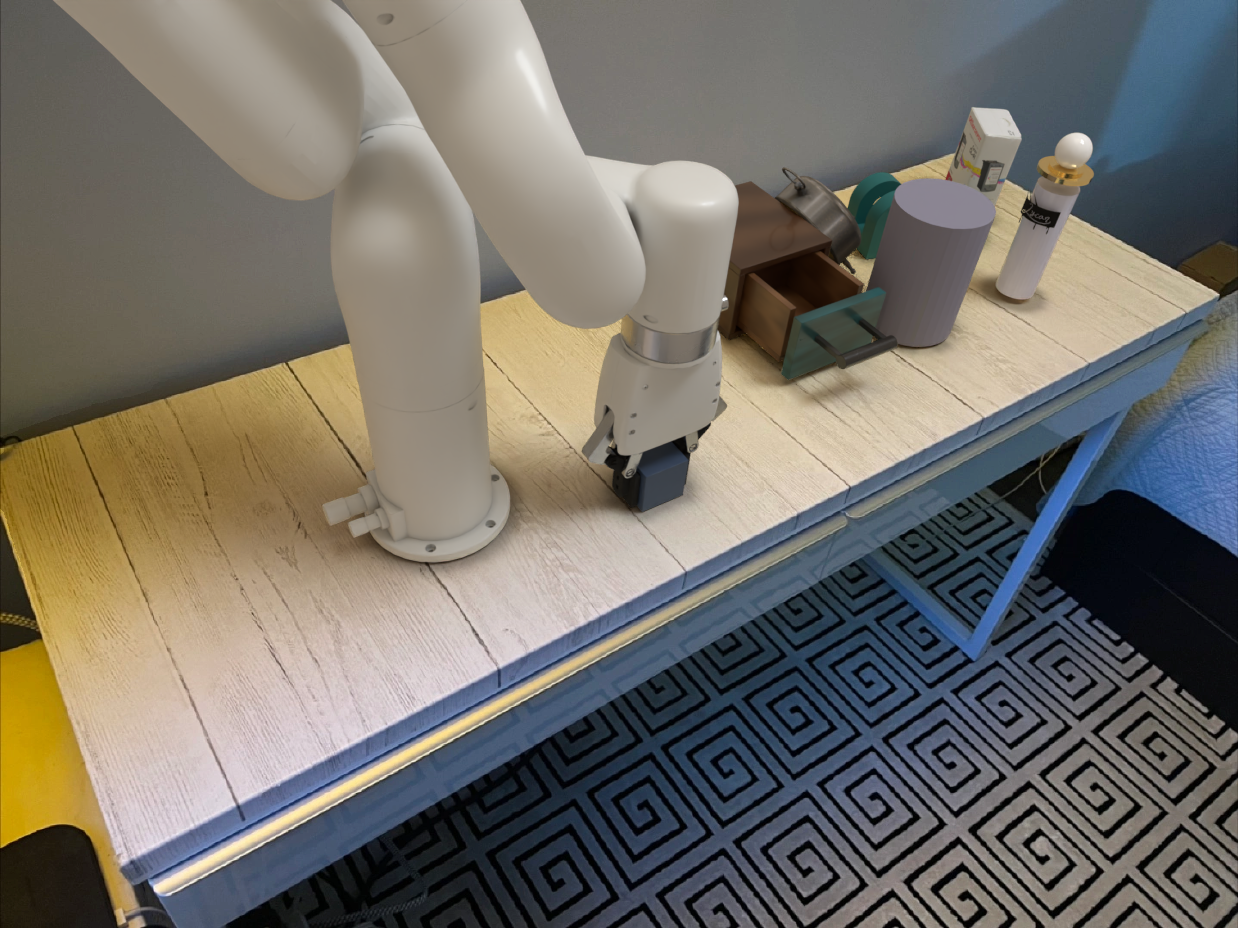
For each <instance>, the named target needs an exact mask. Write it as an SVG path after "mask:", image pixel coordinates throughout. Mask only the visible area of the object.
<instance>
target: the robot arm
mask: <svg viewBox="0 0 1238 928" xmlns="http://www.w3.org/2000/svg"><path fill="white" fill-rule="evenodd" d="M52 1H53V2H54V3H55V4H56V5H57V6H58V7H60V8H61V9H62V10H63V11H64V12H65V13H67V15H69V16H70V17H71V18H72V19H73V20H74V21H75V22H76V23H78V24H79V25H80V26H81V27H82V28H83V29H84V30H85V31H86V32H88V33H89V35H91V36H92V37H93V38H94V39H95V40H96V41H97V42H98V43H99V44H100V45H101V46H103V47H104V48H105V49H106V50H107V51H108V52H109V53H110V54H111V55H112V56H113V57H114V58H115V59H116V60H117V61H118V62H119V63H120V64H121V65H122V66H123V67H124V68H125V69H126V70H127V71H128V72H129V73H130V74H131V75H132V76H133V77H134V78H135V79H136V81H137V80H138V81H139V83H141V84H142V85H143V86H144V87H145V88H146V90H148V91H149V92H150V93H151V94H152V95H153V96H154V97H155V98H156V99H158V101H160V103H162V104H163V105H164V106H165V107H166V108H167V109H168V110H169V111H170V112H171V113H173V114H174V116H176V117H177V118H178V119H179V120H180V121H181V122H182V123H183V124H185V125H186V127H188V129H189V130H191V131H192V132H193V133H194V134H195V135H196V136H197V137H198V138H199V139H201V141H202V142H204V144H206V145H207V146H208V147H209V148H210V150H212V151H213V152H214V153H215V154H216V155H217V156H218V157H219V158H220V159H221V160H222V161H223V162H224V163H225V164H227V165H228V166H229V167H230V168H231V169H232V170H233V171H234V172H236V173H237V174H238V175H239V176H240V177H241V178H243V179H244V180H245V181H246V182H247V183H249V184H250V185H252V186H254V187H255V188H257V189H259V190H261V191H263V192H264V193H266V194H268V195H271V196H274V197H277V198H280V199H284V200H287V201H309V200H314V199H318V198H320V197H322V196H326V195H327V194H329V193H330V192H332V191H333V190H334V194H333V195H334V196H333V199H332V209H331V222H330V223H331V225H330V226H331V227H330V241H329V243H330V244H329V245H330V248H329V249H330V250H329V251H330V267H331V275H332V276H331V277H332V282H333V288H334V291H335V295H336V299H337V302H338V306H339V309H340V312H341V315H342V318H343V319H342V320H343V322H344V325H345V329H346V332H347V337H348V341H349V345H350V350H351V355H352V362H353V366H354V371H355V376H356V381H357V384H358V388H359V389H358V390H359V394H360V399H361V405H362V410H363V415H364V421H365V425H366V430H367V435H368V441H369V446H370V451H371V452H370V453H371V457H372V462H373V467H374V469H371V470H368V471H366V472H365V476H366V481H367V484H365V485H362V486H360V487H358V488H357V493H354V494H351V495H348V496H346V497H343V496H341V497H339V498H337V499H333V500H331V501H328V502H325V503H323V504H322V505H321V507H322V511H323V514H324V516H325V519H326V521H327V523H328V525H329V526H334V525H337V524H339V523H343V522H344V521H347V520H350V519H351V518H352V517H355V516H359V515H360V514H363V513H364V517H363V516H362V517H359V518H356V519H353V520H351V521H348V522H347V526H348V529H349V532H350V534H351V537H353V538H357V537H360V536H363V535H365V534H367V533H370V535H371V536H372V538H373V539H374V540H375V542H376V543H377V544H379V545H380V547H382V548H383V549H384V550H386V551H387V552H389V553H391V554H392V555H395V556H397V557H400V558H403V559H405V560H410V561H414V562H420V563H441V562H450V561H455V560H457V559H461V558H462V559H463V558H465V557H467V556H469V555H472V554H475V553H477V552H478V551H479V550H480V551H481V549H483V548H484V547H486V546H488V545H489V544H490V543H491V542H492V541H494V540H495V539H496V538H497V537H498V536H499V534H500V533H501V532H502V530H503V529H504V528H505V525H506V523H507V521H508V520H509V517H510V511H511V495H510V487H509V485H508V483H507V481H506V478H505V477H504V476H503V474H502V473H501V471H499V470H498V469H497V467H495V466H494V465H493V464H491V455H490V453H491V451H490V439H489V438H490V437H489V422H488V407H487V392H486V376H485V365H484V353H483V337H482V336H483V335H482V312H481V311H482V310H481V307H482V306H481V305H482V304H481V293H482V292H481V291H482V290H481V287H482V286H481V285H482V284H481V282H482V281H481V266H480V265H481V263H480V255H479V254H480V253H479V252H480V251H479V246H478V239H477V238H478V237H477V230H476V225H475V218H476V220H477V221H478V223H479V224H480V226H481V228H482V229H483V232H485V233H484V234H485V235H486V236H487V237H488V239H489V240H490V242H491V244H493V247H494V248H495V249H496V251H497V252H498V254H499V255H500V257H501V258H502V259H503V261H504V262H505V264H506V265H507V266H508V268H510V270H511V272H512V273H513V274H514V276H515V277H516V278H517V280H519V282H520V284H521V285H522V286H523V288H524V289H525V290H526V292H527V293H528V295H529V296H530V297H531V299H533V301H534V303H536V305H537V306H538V307H539V308H540V309H541V310H542V311H543V312H544V313H546V315H548V316H549V317H551V319H553V320H555V321H557V322H559V323H561V324H563V325H565V326H568V327H571V328H574V329H575V328H576V329H582V330H591V329H592V330H594V329H595V330H597V329H600V328H607V327H608V326H611V325H613V324H615V323H617V322H619V321H621V322H620V332H618V333H616V334H614V335H613V336H611V338H610V341H609V343H608V345H607V348H606V351H605V355H604V357H603V361H602V365H601V368H600V375H599V378H598V385H597V390H596V395H595V396H596V397H595V404H594V414H593V421H594V422H593V424H594V426H595V430H594V431H593V432H592V434H591V435H590V436H589V438H588V440H587V441H586V442H585V444H584V445H583V447H582V448H581V451H580V452H581V453H582V455H583V456H584V457H585V458H586V459H587V461H588V462H589V463H592V464H596V465H600V466H603V465H604V466H606V467H607V468H609V469H611V470H612V483H611V486H612V490H613V491H614V493H615V494H616V496H617V497H618V498H622V499H623V500H624V502H625V503H626V504H627V505H628V506H629V507H630V508H634V507H637V503H638V497H639V488H640V479H641V476H640V474H639V473H638V472H637V468H638V465H639V462H640V459H641V456H642V454H643V452H644V451H647V450H649V449H652V448H655V447H657V446H660V445H663V444H665V443H668V442H670V441H671V442H672V443H673V444H674V445H675V446H676V447H677V448H678V449H679V450H680V451H681V452H682V454H683V455H684V456H685V457H686V458H687V459H688V467H687V473H686V479H685V485H684V486H686V485H687V479H688V473H689V467H690V460H691V455H692V454H693V453H694V452H695V451H697V450H698V449H699V446H700V444H699V443H700V442H699V440H700V439H701V438H702V437H703V436H704V434H705V433H706V432H707V431H708V430H709V429H710V428H711V426H712V422H714V421H715V420H717V419H718V417H720V416H721V415H722V414H723V413H724V412H725V411H726V410H727V408H728V404H727V403H726V401H725V400H724V399H723V398H722V397H721V396H720V393H721V387H722V374H723V350H722V349H723V347H722V340H721V333H720V332H719V331H718V325H719V319H720V313H721V312H722V311H724V310H727V309H728V307H729V302H728V299H727V297H726V296H725V295H724V290H725V284H726V278H727V272H728V267H729V261H730V255H731V249H732V243H733V237H734V232H735V226H736V220H737V213H738V204H739V201H738V194H737V190H736V188H735V184H734V183H733V181H732V179H731V178H730V177H729V176H728V175H726V174H725V173H724V172H722V171H721V170H720V169H718V168H716V167H714V166H711V165H709V164H706V163H702V162H698V161H692V160H669V161H663V162H660V163H657V164H652V165H650V164H642V163H633V162H628V161H621V160H615V159H611V158H605V157H599V156H593V155H587V154H585V152H584V149H583V148H582V146H581V144H580V142H579V140H578V138H577V136H576V133H575V132H574V130H573V128H572V127H573V126H572V125H571V123H570V120H569V118H568V116H567V114H566V111H565V109H564V106H563V105H562V102H561V100H560V96H559V94H558V91H557V88H556V86H555V83H554V81H553V77H552V73H551V72H550V71H551V70H550V68H549V66H548V65H549V64H548V63H547V59H546V56H545V54H544V50H543V48H542V45H541V43H540V40H539V39H538V36H537V33H536V31H535V28H534V26H533V24H532V22H531V19H530V18H529V15H528V13H527V10H526V9H525V6H524V4H523V3H522V1H521V0H341V1H342V3H343V4H344V6H345V7H346V8H347V10H348V11H349V13H350V14H351V15H352V17H353V18H354V19H353V18H352V17H351V16H350V15H349V14H348V13H347V12H346V11H345V10H344V9H342V8H341V7H340V6H339V5H338V4H337V3H335V2H334V1H333V0H52ZM474 217H475V218H474ZM691 453H692V454H691Z"/></svg>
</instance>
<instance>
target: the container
mask: <svg viewBox="0 0 1238 928" xmlns="http://www.w3.org/2000/svg"><path fill="white" fill-rule="evenodd" d="M996 215H997V210H996V205H995V206H994V205H993V203H992V202H991V201H990V200H989V199H988V198H987V197H986V196H985V195H983V194H982V193H980V192H979V191H977V190H975V189H973V188H971V187H968V186H966V185H963V184H960V183H957V182H953V181H948V180H945V179H942V178H929V177H927V178H917V179H916V178H915V179H911V180H908V181H905V182H903V183H901V185H900V186H899V187H898V188H897V189H896V191H895V193H894V197H893V200H892V204H891V207H890V211H889V214H888V217H887V221H886V224H885V228H884V231H883V235H882V238H881V241H880V245H879V248H878V252H877V255H876V258H874V263H873V266H872V269H871V273H870V276H869V279H868V283H867V286H866V290H865V292H866V291H869V290H871V289H874V288H877V287H879V288H881V289H882V290H883V291H885V292H886V296H885V299H884V302H883V305H882V309H881V312H880V315H879V318H878V321H877V325H876V329H878V330H879V331H880V332H881V333H883V334H884V335H885V336H886V337H887V336H889V335H893V336H894V337H895V338H896V339H897V342H898V345H902V346H905V347H906V346H907V347H913V348H914V347H916V348H918V347H919V348H923V347H931V346H934V345H938V344H941V343H943V342H944V341H946V340H947V339H948V337H949V336H950V335H951V333H952V330H953V327H954V325H955V322H956V320H957V317H958V314H959V312H960V309H961V306H962V304H963V302H964V299H965V296H966V294H967V291H968V289H969V286H970V284H971V281H972V278H973V276H974V273H975V270H976V268H977V265H978V263H979V260H980V257H981V255H982V252H983V249H984V247H985V245H986V242H987V240H988V236H989V234H990V231H991V228H992V226H993V223H994V221H995V218H996Z"/></svg>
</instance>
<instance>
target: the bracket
mask: <svg viewBox="0 0 1238 928" xmlns="http://www.w3.org/2000/svg"><path fill="white" fill-rule="evenodd" d="M901 184H902V183H901V182H900V181H899V180H898V179H897V178H896V177H895V176H894V175H893V174H891V173H889V172H886V171H885V172H884V171H881V172H874V173H872V174H869V175H868V176H866V177H864V178H863V179H862V180H861V181H859V183H858V184H857V185H856V186H855V187H854V189H853V190H852V192H851V194H850V196H849V201H848V204H847V208H848V210H849V211H850V212H851V214H852V215H853V216H855V220H856V222H857V224H858V226H859V229H860V232H861V243H860V245H859V247H858V248H857V249H856V250H857V252H859V253H860V254H861V256H862V257H863V258H864V259H865V260H873V259H876V255H877V252H878V248H879V245H880V241H881V238H882V235H883V231H884V228H885V224H886V221H887V217H888V214H889V211H890V207H891V204H892V200H893V197H894V193H895V191H896V189H897V188H898V187H899V186H900V185H901Z"/></svg>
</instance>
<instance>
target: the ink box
mask: <svg viewBox="0 0 1238 928" xmlns="http://www.w3.org/2000/svg"><path fill="white" fill-rule="evenodd" d="M1021 142H1022V134H1021V132H1020V130H1019V128H1018V126H1017V124H1016V122H1015V121H1014V119H1013V117H1012V115H1011V113H1010V111H1009V110H1008V109H1006V108H1005V109H1004V108H990V107H974V106H972V107H971V108H970V112H969V115H968V117H967V120H966V122H965V126H964V129H963V131H962V134H961V136H960V139H959V142H958V145H957V147H956V150H955V152H954V155H953V157H952V161H951V163H950V166H949V169H948V171H947V174H946V177H945V179H944V180H948V181H953V182H957V183H960V184H963V185H966V186H968V187H971V188H973V189H975V190H977V191H979V192H980V193H982V194H983V195H985V196H986V197H987V198H988V199H989V200H990V201H991V202H992V203H993V205H994V206H995V207H996V205H997V202H998V200H999V197H1000V195H1001V193H1002V190H1003V187H1004V185H1005V182H1006V179H1007V177H1008V174H1009V172H1010V169H1011V168H1012V165H1013V163H1014V159H1015V157H1016V155H1017V152H1018V149H1019V147H1020V145H1021Z"/></svg>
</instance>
